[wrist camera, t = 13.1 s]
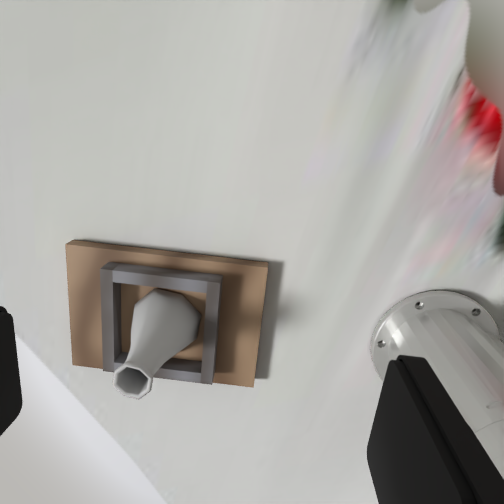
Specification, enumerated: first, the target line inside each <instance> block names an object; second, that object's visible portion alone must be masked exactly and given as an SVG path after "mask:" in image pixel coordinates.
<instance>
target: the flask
mask: <svg viewBox="0 0 504 504" xmlns="http://www.w3.org/2000/svg"><path fill="white" fill-rule="evenodd" d="M200 320H201V314H200V313H199V312H198V311H197V310H196V309H195V307H194V306H193V305H192V304H191V303H190V302H189V301H188V300H187V299H186V298H185V297H184V296H183V295H181V294H177V293H173V292H169V291H164V290H160V289H156V288H154V289H153V290H152V291H150V292H149V293H148V294H147V295H145V296H144V297H143V298H142V299H141V300H139V301H138V302H137V303H136V304H135V306H134V313H133V320H132V327H131V347H130V351H129V354H128V357H127V359H126V361H125V363H124V364H123V365H121V366H120V367H119V368H118V369H116V370H115V372H114V377H113V386H114V387H115V388H116V389H117V390H118V391H119V392H120V393H121V394H122V395H123V396H127V397H131V398H135V399H140V398H142V397H143V396H144V395H146V394H147V393H149V392H150V391H151V388H152V382H153V377H154V375H155V373H156V372H157V371H158V370H159V368H160V367H161V366H162V365H163V364H164V363H165V362H166V361H167V360H169V359H170V358H171V357H173V356H174V355H176V354H177V353H178V352H180V351H181V350H182V349H184V348H185V347H186V346H188V345H189V344H190V343H192V342H193V341H194V340H196V339H197V334H198V330H199V325H200Z"/></svg>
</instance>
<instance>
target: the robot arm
mask: <svg viewBox="0 0 504 504" xmlns="http://www.w3.org/2000/svg"><path fill="white" fill-rule="evenodd" d="M417 302H418V303H417ZM416 303H417V304H416ZM371 357H372V361H373V364H374V367H375V370H376V371H377V373H378V375H379V377H380V378H381V380H382V381H383V386H382V390H381V394H380V398H379V402H378V406H377V410H376V414H375V418H374V422H373V426H372V430H371V434H370V438H369V442H368V446H367V460H368V465H369V469H370V472H371V476H372V480H373V484H374V487H375V491H376V495H377V498H378V502H379V504H504V344H503V343H502V342H501V341H500V336H499V331H498V328H497V325H496V323H495V321H494V319H493V318H492V316H491V315H490V314H489V313H488V312H487V310H486V309H485V308H484V307H482V306H481V305H480V304H479V303H478V302H476V301H475V300H473V299H471V298H469V297H467V296H466V295H462V294H459V293H456V292H450V291H428V292H424V293H419V294H416V295H413V296H411V297H408V298H406V299H404V300H402V301H401V302H399V303H397V304H396V305H394V306H393V307H392V308H391V309H390V310H389V311H388V312H386V314H385V315H384V316H383V317H382V318H381V320H380V321H379V323H378V324H377V326H376V328H375V330H374V333H373V336H372V340H371ZM21 408H22V394H21V385H20V376H19V368H18V358H17V350H16V341H15V332H14V323H13V317H12V316H11V314H9V313H8V312H7V310H6V309H5V308H4V307H2V306H0V436H1V435H2V433H3V432H4V431H5V430H6V429H7V428H8V427H9V426H10V425H11V423H12V422H13V421H14V420H15V419H16V418H17V416H18V415H19V413H20V410H21Z"/></svg>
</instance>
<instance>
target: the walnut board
mask: <svg viewBox="0 0 504 504" xmlns="http://www.w3.org/2000/svg"><path fill="white" fill-rule="evenodd" d="M65 246H66V263H67V279H68V296H69V313H70V329H71V346H72V363H73V365H76V366H84V367H92V368H100V369H103V371H107V372H115V370H116V369H118V368H119V367H120V366H121V365H123V364H124V363H125V361H126V359H127V357H128V354H129V351H130V347H131V327H132V320H133V313H134V306H135V304H136V303H137V302H138V301H139V300H141V299H142V298H143V297H144V296H145V295H147V294H148V293H149V292H150V291H152V290H153V289H154V288H156V289H160V290H164V291H169V292H173V293H177V294H181V295H183V296H184V297H185V298H186V299H187V300H188V301H189V302H190V303H191V304H192V305H193V306H194V307H195V309H196V310H197V311H198V312H199V313H200V314H201V320H200V325H199V330H198V334H197V339H196V340H194V341H193V342H192V343H190V344H189V345H188V346H186V347H185V348H184V349H182V350H181V351H180V352H178V353H177V354H176V355H174V356H173V357H171V358H170V359H169V360H167V361H166V362H165V363H164V364H163V365H162V366H161V367H160V368H159V370H158V371H157V372H156V373H155V375H154V377H155V378H163V379H171V380H179V381H187V382H195V383H203V384H211V385H212V383H221V384H229V385H237V386H245V387H254V378H255V370H256V362H257V354H258V346H259V338H260V329H261V321H262V313H263V305H264V297H265V288H266V280H267V272H268V262H260V261H251V260H243V259H234V258H225V257H217V256H208V255H200V254H191V253H182V252H174V251H165V250H156V249H148V248H139V247H130V246H122V245H113V244H104V243H96V242H87V241H78V240H72V241H70V242H69V243H67V244H65Z"/></svg>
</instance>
